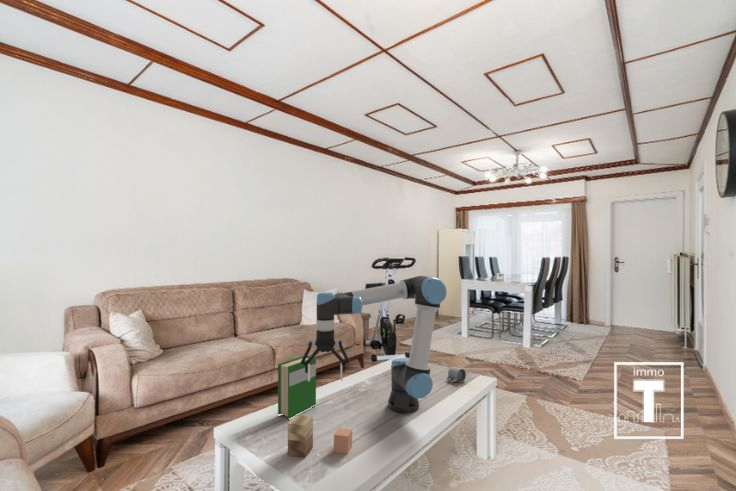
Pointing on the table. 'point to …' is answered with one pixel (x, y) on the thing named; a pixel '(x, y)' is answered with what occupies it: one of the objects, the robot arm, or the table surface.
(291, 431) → the oak middle block
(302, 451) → the walnut base block
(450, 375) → the ceramic mug
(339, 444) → the terracotta block
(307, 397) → the hardback book
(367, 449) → the table surface
